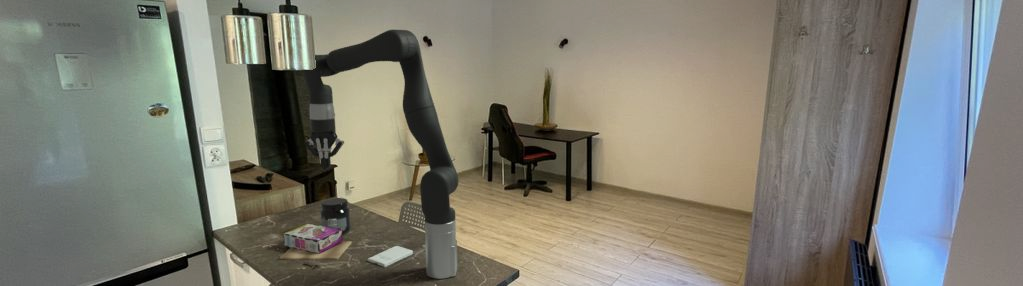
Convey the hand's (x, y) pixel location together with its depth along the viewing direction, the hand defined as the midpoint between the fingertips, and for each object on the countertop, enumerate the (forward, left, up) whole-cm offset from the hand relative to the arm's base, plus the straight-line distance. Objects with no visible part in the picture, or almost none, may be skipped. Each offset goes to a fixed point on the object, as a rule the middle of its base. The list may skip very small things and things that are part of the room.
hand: (326, 168), depth 157 cm
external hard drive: (-21, +5, -30) cm, 37 cm away
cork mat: (+5, 0, -29) cm, 29 cm away
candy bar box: (0, -1, -26) cm, 26 cm away
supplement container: (+5, -18, -29) cm, 35 cm away
